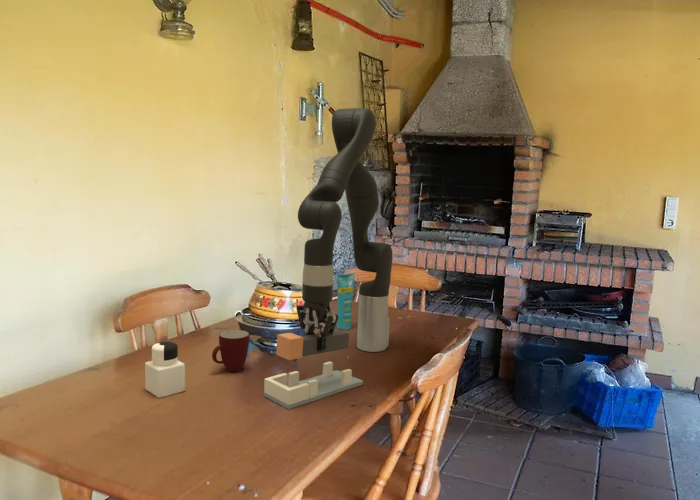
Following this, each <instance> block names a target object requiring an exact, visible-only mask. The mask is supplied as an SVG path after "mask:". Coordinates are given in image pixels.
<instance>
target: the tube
mask: <svg viewBox="0 0 700 500" xmlns="http://www.w3.org/2000/svg"><path fill="white" fill-rule="evenodd" d="M355 274H356V273H355V272H352V273H351V272H350V273H346V274H337V278H336V279H337V281H336V282H337V283H336V284H337V294H336V295H337V298H336V299H337V301H336V305H337V309H336V311H337V312H336V314H337V315H338V320H337V323H336V328H337V329H339V330H351V327H352V317H353V316H352V315H353V312H352V311H353V310H352V309H353V299H354V298H353V297H354V286H355Z"/></svg>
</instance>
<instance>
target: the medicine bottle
mask: <svg viewBox="0 0 700 500" xmlns="http://www.w3.org/2000/svg"><path fill="white" fill-rule="evenodd" d="M178 349H179V348H178V345H177V343H175V342H173V341H159V342H157V343H155V344H153V345H152V346H151V360H149V361H146V362H144V373H145V374H144V375H145V376H144V379H145V381H144V382H145V384H144V385H145V390H146V391H148V392H149V393H150V394H152V395H153V396H155V397H157V398H158V399H159V398H160V399H161V398H164V397H169V396H171V395H175V394H179V393H182V392H185V391H186V365H185V363H184V362H182V361H180V360H178V359H179V357H178V355H179V354H178V353H179V352H178V351H179V350H178Z"/></svg>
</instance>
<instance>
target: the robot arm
mask: <svg viewBox="0 0 700 500" xmlns="http://www.w3.org/2000/svg"><path fill="white" fill-rule="evenodd" d="M331 130H332V134H333V135H332V136H333V140H334V144H335V147H336V152H337V153H336V154H335V155H334V156H333V157H332V158H331V159H329V160H328V161H327V162H326V164H325V166H324V167H323V169H322V172H321V173H320V176H319V179H318V181H317V183H316V185H315V186H314V187H313V189H312V190H310V192H309V193H308V194H307V195H306V196H305V198H304V199H303V200H302V202H301V204H300V205H299V208H298V212H297V221H298V223H299V225H300V226H301V227H302V228H304V229H307V230H317V231H318V230H320V231H323V232H322V235H321V236H320V237H317V238H312V239H308V240H307V241H305V243H304V252H303V253H304V254H303V256H304V257H303V268H302V286H301V287H302V288H301V290H302V291H301V299H302V301H303V302H304V303H303V304H300V305H297V306H296V313H297V318H298V322H299V326H300V329H301V330H304V333H305V335H312V334H317V335H318V337H317V351H318V352H322V351H325V349H326V338H327V336H330V335H333V332H334V331H335V329H336V327H337V320H338V315H337V313H336V314H334V313H333V312H331V305H330V304H331V302H332V301H333V293H334V291H333V290H334V289H333V288H334V269H333V268H334V267H333V266H334V265H333V264H334V263H333V262H334V261H333V260H334V248H335V247H334V245H335V242H336V238H337V235H338V231H339V229H340V226H341V222H342V216H343V214H342V209H341V207H340V205H339V204H338V202H339V201H340V200H341V199H342V198H343V196H344V194H345V197H346V203H347V208H348V213H349V219H350V224H351V225H350V226H351V230H352V231H351V232H352V242H353V243H352V245H353V257H354V262H355V266H356V267H357V269H358V270H360V271H362V272H366V273H367V272H368V273H375V278H374V279H373V280H370V281H365V282H363V283H360V285H359V287H358V309H357V310H358V311H357V332H356V333H357V336H356V337H357V338H356V348H357V349H358V350H360V351H364V352H372V353H374V352H375V353H376V352H382V351H385V350H386V349H387V348H388V347H389V343H390V342H389V339H390V317H389V315H388V313H389V298H390V297H389V294H390V285H391V279H392V278H391V277H392V265H393V256H394V255H393V249H392V246H391V245H390V244H389V243H383V242H377V241H376V242H375V241H370V240H369V236H368V235H369V234H368V230H369V226H370V225H371V222H372V221H373V219H374V217H375V215H376V214H377V211H378V210H379V207H380V205H379V204H380V200H379V191H378V186H377V183H376V182H377V181H376V180H375V178H374V176H373V175H372V174H371V172H370V171H369V170H368V169H367V167H366V166H365V165H364V164H363V162H362V161H361V158H362V157H363V155H364V153H365V151H366V150H367V148H368V147H369V146H370V143H371V142H372V139H373V137H374V135H375V131H376V117H375V114H374V113H373V111H372V110H371V109H370V108H365V107H359V108H358V107H355V108H354V107H353V108H352V107H351V108H339V109H338V108H337V109H335V111H333V114H332V116H331ZM315 331H316V332H317V333H316V332H315Z"/></svg>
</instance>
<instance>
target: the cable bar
mask: <svg viewBox="0 0 700 500" xmlns="http://www.w3.org/2000/svg"><path fill="white" fill-rule="evenodd" d="M317 337H318V335H317V333H315V334H312V335H306V334H305V335H298V334H294V333H293V332H285V333H280V334H277V337H276V351H275V355H276V356H278V357H281V358H282V359H286V360H287V361H291V360H292V361H293V360H297V359H302V358H303V357H307V356H313V355H319V354H323V353H331V352H336V351H342V350H347V349H349V341H350V333H349V332H346V331H343V330H341V329H339V330H334V332H333V335H330V336H327V338H326V349H325V351H322V352H318V351H317Z"/></svg>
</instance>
